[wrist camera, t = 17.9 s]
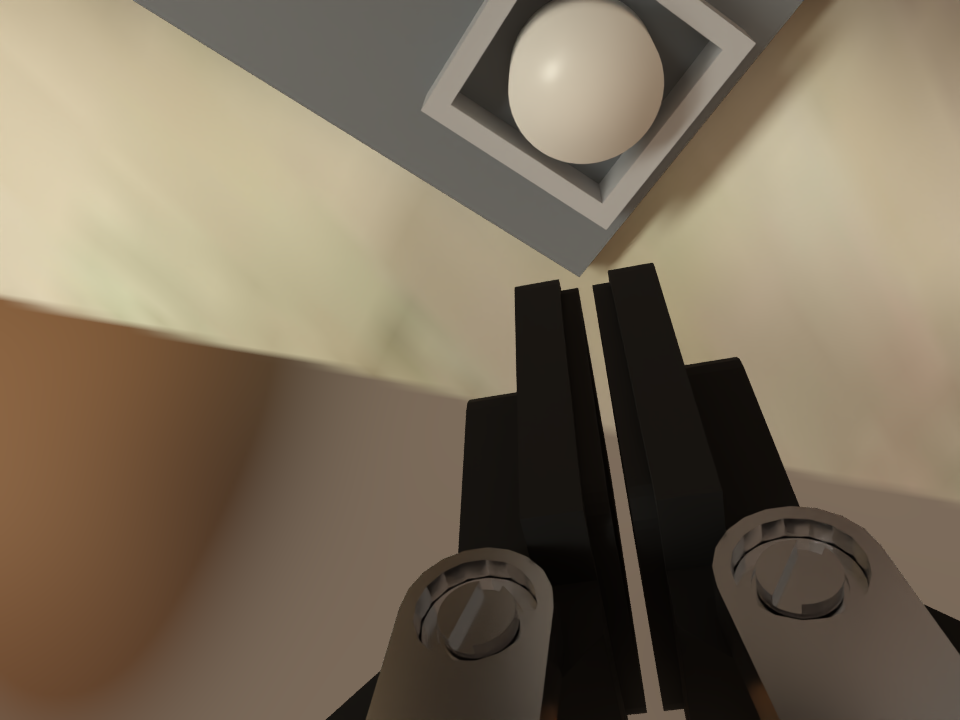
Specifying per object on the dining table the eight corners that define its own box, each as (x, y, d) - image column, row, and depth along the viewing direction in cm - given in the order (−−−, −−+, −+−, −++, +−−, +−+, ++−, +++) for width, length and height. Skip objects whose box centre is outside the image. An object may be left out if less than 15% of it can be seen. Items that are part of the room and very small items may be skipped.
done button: (482, 89, 25) (478, 110, 23) (565, -40, 23) (568, -26, 21) (596, 165, 26) (600, 191, 24) (684, 48, 24) (696, 67, 22)
